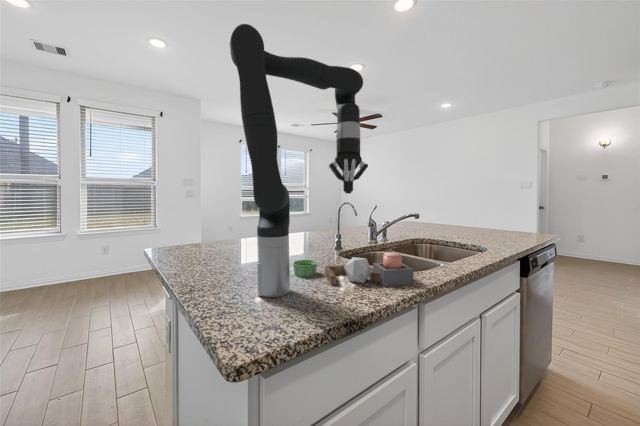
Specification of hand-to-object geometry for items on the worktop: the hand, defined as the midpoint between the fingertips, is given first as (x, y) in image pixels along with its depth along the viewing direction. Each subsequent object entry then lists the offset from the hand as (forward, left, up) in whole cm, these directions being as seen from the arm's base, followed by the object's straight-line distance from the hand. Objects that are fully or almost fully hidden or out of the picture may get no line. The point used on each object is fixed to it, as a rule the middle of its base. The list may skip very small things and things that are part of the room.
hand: (348, 193), depth 90 cm
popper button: (+15, 0, -26) cm, 30 cm away
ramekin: (-13, +14, -30) cm, 35 cm away
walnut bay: (+2, +6, -29) cm, 30 cm away
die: (+4, +2, -30) cm, 30 cm away
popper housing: (+15, 0, -29) cm, 33 cm away
